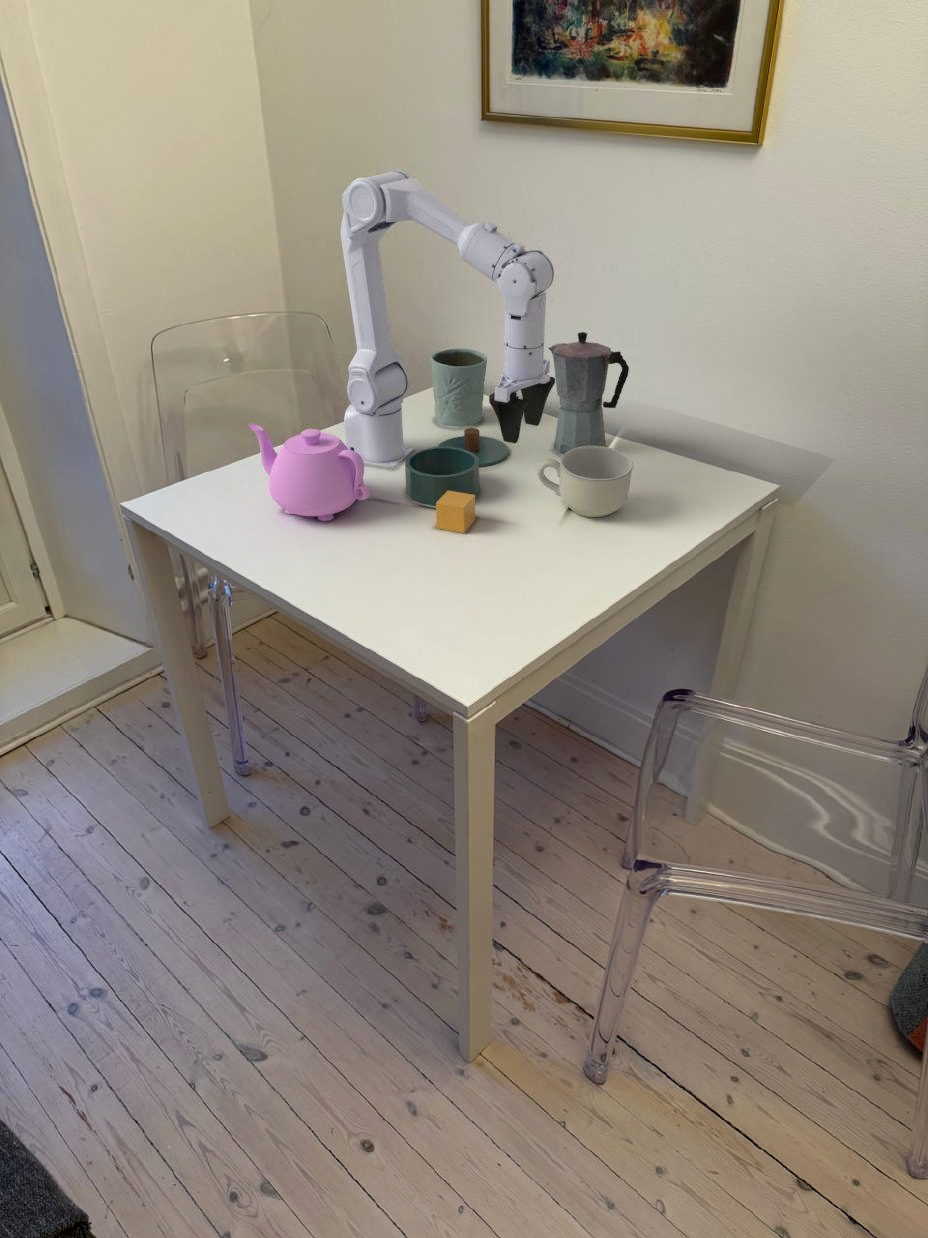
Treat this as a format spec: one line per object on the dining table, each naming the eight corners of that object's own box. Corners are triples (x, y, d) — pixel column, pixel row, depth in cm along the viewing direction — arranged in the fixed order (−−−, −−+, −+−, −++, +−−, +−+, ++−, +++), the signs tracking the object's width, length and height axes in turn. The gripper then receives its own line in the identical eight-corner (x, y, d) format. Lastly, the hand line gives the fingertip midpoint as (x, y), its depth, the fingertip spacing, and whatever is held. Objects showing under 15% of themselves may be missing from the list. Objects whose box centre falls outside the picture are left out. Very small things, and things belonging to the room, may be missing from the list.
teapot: (233, 513, 135) (220, 438, 128) (284, 476, 146) (275, 405, 139) (347, 537, 128) (340, 459, 122) (392, 496, 139) (388, 423, 132)
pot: (394, 502, 138) (392, 470, 135) (424, 472, 146) (423, 442, 143) (462, 514, 134) (462, 481, 131) (489, 483, 143) (489, 452, 140)
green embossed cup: (436, 409, 170) (434, 347, 163) (488, 411, 169) (489, 348, 162) (429, 430, 161) (427, 365, 155) (484, 431, 161) (484, 366, 154)
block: (436, 528, 130) (435, 502, 128) (448, 515, 134) (447, 490, 131) (464, 533, 129) (464, 507, 127) (475, 520, 132) (475, 494, 130)
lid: (424, 464, 149) (423, 439, 147) (452, 437, 159) (452, 413, 156) (493, 475, 145) (493, 449, 143) (517, 447, 155) (518, 422, 152)
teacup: (634, 498, 138) (639, 450, 133) (621, 530, 129) (626, 479, 125) (547, 486, 142) (549, 439, 137) (529, 516, 133) (530, 467, 129)
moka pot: (557, 431, 160) (563, 319, 149) (634, 450, 153) (647, 334, 142) (529, 448, 154) (533, 333, 143) (608, 470, 146) (619, 349, 135)
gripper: (527, 361, 120) (524, 454, 128) (570, 333, 131) (565, 421, 138) (481, 354, 123) (481, 445, 131) (526, 327, 133) (524, 413, 141)
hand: (521, 432), depth 135 cm, fingers open, 7 cm apart
